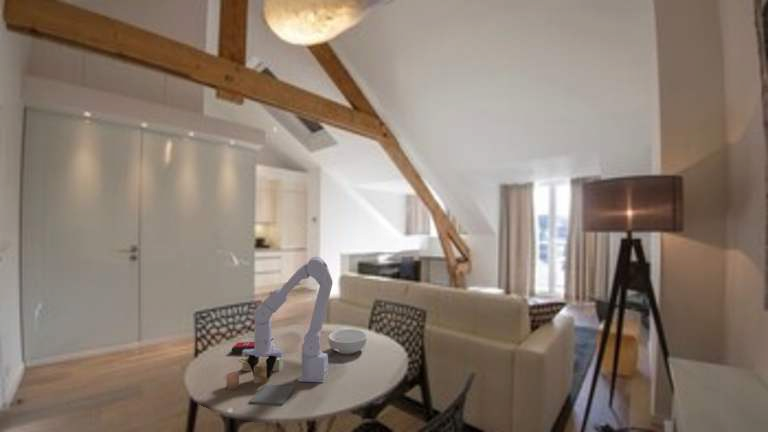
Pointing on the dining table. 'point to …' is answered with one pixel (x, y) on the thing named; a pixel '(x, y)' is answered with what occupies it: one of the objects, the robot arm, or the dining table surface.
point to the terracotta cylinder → (232, 381)
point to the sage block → (278, 364)
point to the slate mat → (272, 395)
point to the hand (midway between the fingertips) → (262, 376)
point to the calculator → (243, 346)
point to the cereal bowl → (348, 341)
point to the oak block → (260, 373)
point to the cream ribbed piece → (245, 365)
